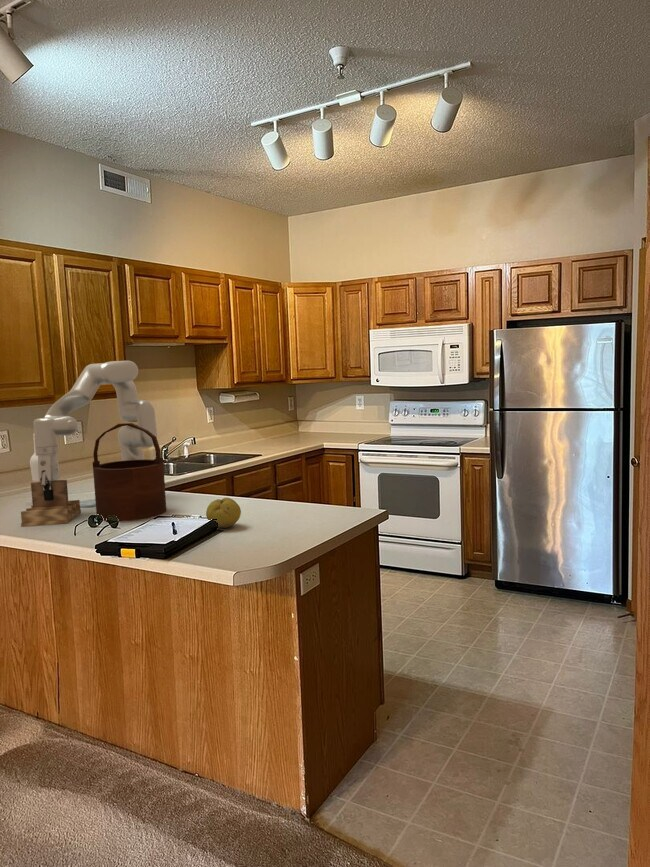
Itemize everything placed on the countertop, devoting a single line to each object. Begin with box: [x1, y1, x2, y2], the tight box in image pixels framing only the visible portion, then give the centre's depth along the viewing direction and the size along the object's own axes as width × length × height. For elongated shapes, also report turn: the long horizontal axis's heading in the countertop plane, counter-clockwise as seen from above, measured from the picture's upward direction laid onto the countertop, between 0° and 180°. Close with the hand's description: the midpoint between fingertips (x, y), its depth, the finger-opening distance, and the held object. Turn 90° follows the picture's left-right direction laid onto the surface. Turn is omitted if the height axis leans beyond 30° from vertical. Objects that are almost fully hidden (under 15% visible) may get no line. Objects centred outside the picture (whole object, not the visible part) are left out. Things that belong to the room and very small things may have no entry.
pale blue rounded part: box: [80, 498, 96, 509], centre depth 256 cm, size 12×12×1 cm
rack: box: [20, 499, 82, 527], centre depth 231 cm, size 16×18×5 cm
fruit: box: [205, 497, 242, 529], centre depth 209 cm, size 11×12×10 cm
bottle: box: [29, 433, 47, 482], centre depth 263 cm, size 8×8×30 cm
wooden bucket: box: [92, 422, 167, 522], centre depth 235 cm, size 26×26×35 cm
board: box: [30, 479, 69, 508], centre depth 230 cm, size 12×3×10 cm, turn 96°
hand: (50, 498), depth 231 cm, fingers closed on board, 3 cm apart
